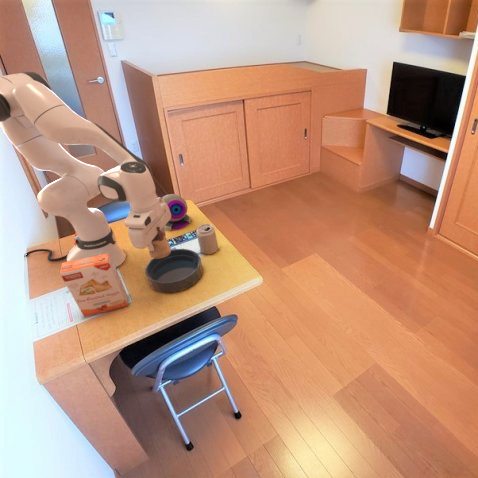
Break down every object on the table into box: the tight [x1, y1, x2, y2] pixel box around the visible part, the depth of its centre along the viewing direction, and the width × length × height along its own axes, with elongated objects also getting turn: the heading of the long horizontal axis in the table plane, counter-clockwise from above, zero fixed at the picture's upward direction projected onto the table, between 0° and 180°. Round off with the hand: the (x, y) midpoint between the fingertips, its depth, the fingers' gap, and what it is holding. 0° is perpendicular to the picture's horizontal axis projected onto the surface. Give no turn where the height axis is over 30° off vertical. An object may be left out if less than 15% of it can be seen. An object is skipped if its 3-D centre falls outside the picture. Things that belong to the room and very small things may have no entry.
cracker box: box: [59, 253, 129, 318], centre depth 120 cm, size 14×6×21 cm, turn 114°
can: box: [195, 223, 219, 255], centre depth 150 cm, size 8×8×12 cm
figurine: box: [148, 227, 172, 259], centre depth 125 cm, size 7×7×12 cm
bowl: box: [144, 248, 204, 294], centre depth 138 cm, size 20×20×6 cm
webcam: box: [161, 193, 192, 231], centre depth 166 cm, size 13×13×15 cm
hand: (157, 243), depth 125 cm, fingers closed on figurine, 6 cm apart
